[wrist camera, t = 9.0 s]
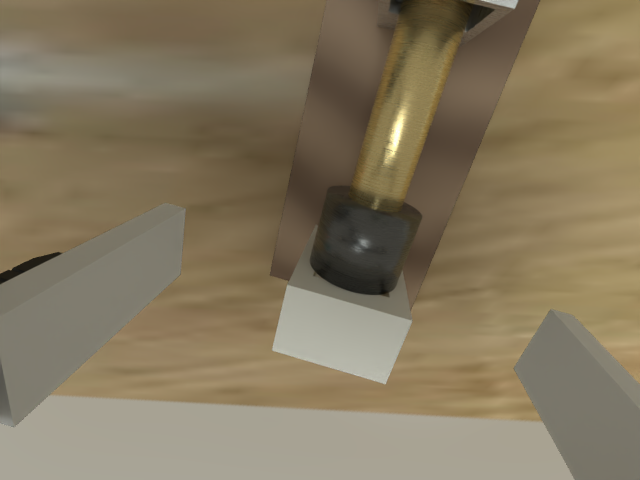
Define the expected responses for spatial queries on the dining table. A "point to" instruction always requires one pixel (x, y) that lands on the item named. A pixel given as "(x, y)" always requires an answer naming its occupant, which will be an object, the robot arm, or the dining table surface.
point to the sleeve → (487, 9)
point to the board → (354, 113)
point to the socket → (341, 323)
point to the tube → (390, 154)
